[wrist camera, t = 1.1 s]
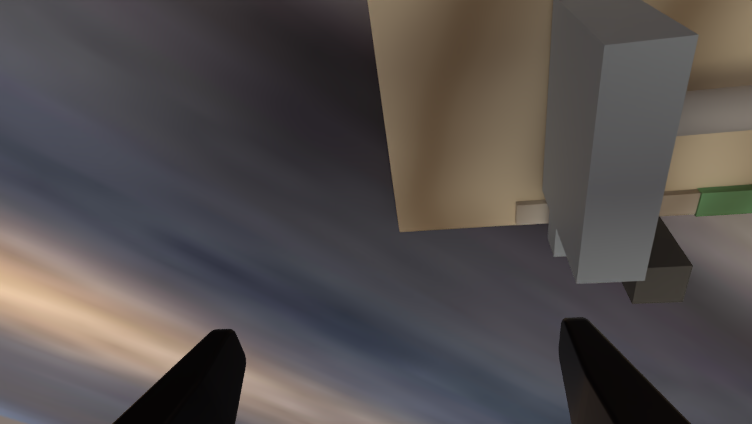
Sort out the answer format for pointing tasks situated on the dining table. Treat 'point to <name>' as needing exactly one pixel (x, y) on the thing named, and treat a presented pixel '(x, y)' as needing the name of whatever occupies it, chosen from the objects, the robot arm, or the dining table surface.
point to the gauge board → (528, 110)
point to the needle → (662, 271)
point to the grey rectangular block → (620, 130)
